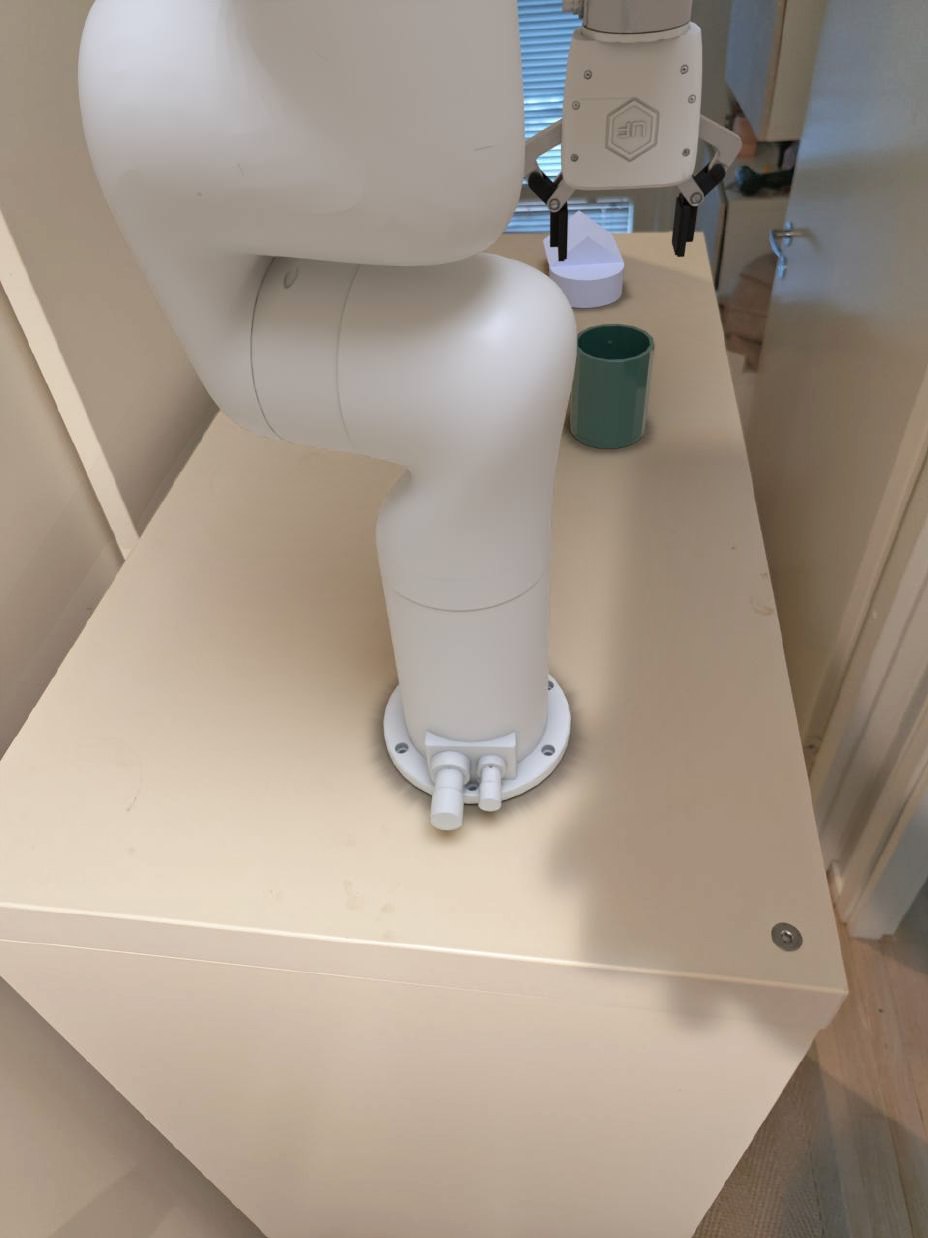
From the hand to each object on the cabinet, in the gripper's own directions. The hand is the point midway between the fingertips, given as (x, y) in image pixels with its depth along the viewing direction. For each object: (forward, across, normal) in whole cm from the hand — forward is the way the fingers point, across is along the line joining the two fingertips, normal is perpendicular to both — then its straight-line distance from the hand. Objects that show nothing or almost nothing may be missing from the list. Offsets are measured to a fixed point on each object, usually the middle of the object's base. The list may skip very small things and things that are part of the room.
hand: (619, 252), depth 71 cm
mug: (+17, 0, +1) cm, 17 cm away
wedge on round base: (+18, -1, +32) cm, 37 cm away
